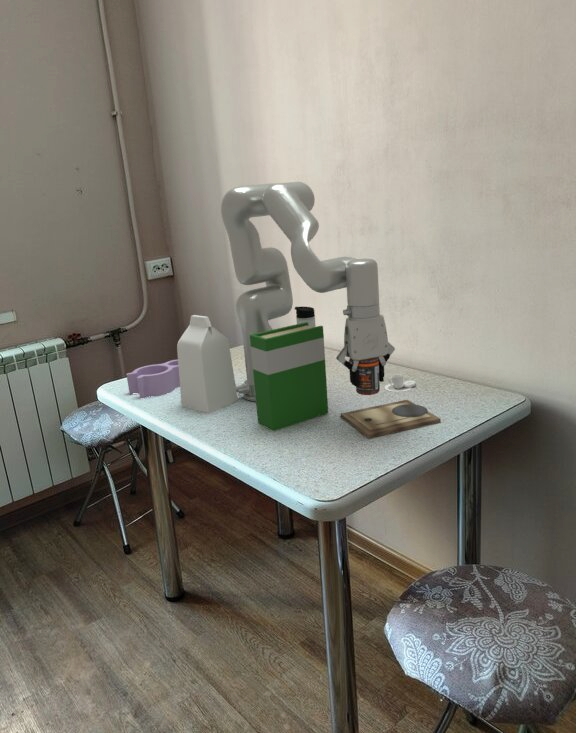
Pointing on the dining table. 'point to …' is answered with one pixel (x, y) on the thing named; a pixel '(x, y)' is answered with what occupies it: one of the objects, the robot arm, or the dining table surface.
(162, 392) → the clip
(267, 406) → the hardback book
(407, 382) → the teacup and saucer
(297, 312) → the travel mug
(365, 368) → the supplement bottle
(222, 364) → the milk
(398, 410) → the brown flat wooden board
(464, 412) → the dining table surface
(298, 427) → the dining table surface
